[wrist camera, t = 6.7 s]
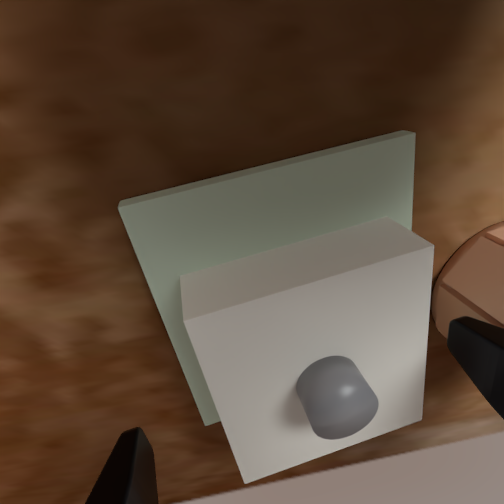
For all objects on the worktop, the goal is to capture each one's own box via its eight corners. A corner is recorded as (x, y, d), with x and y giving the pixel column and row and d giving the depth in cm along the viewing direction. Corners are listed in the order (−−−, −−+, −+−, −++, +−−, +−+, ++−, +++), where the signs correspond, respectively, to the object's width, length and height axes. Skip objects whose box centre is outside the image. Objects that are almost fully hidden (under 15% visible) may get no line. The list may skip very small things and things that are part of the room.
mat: (403, 129, 9) (415, 132, 8) (397, 349, 12) (406, 359, 12) (120, 200, 8) (117, 208, 7) (203, 413, 11) (205, 426, 11)
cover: (386, 216, 9) (470, 267, 6) (387, 374, 12) (445, 451, 9) (179, 275, 8) (186, 356, 6) (233, 427, 11) (253, 524, 9)
